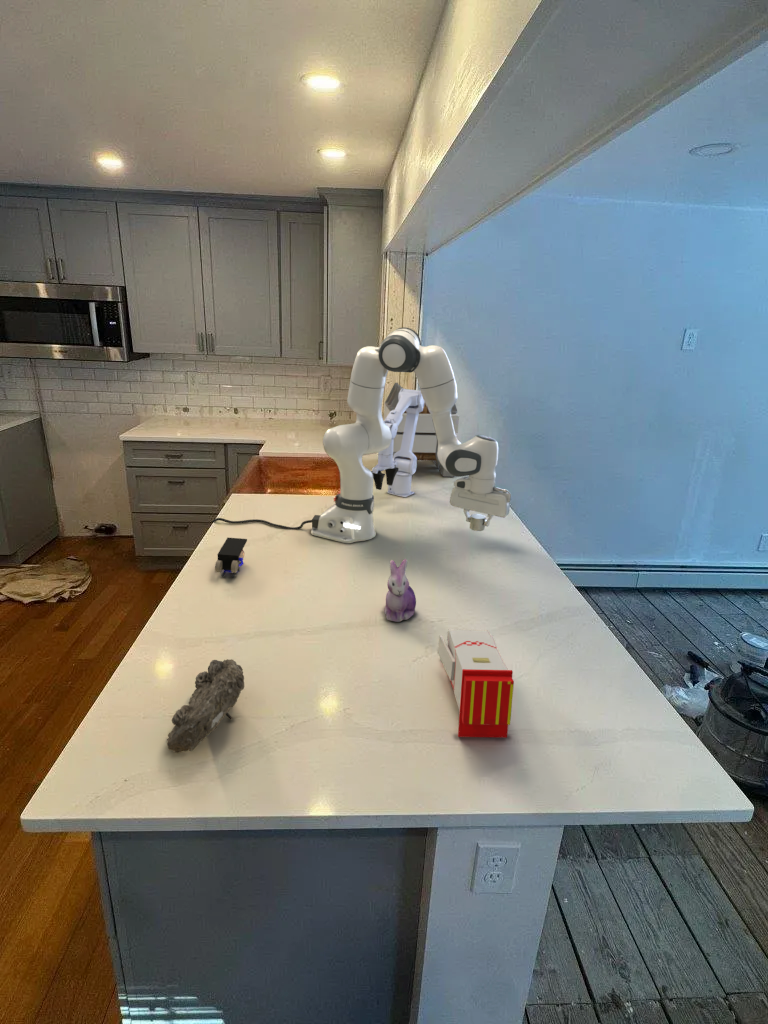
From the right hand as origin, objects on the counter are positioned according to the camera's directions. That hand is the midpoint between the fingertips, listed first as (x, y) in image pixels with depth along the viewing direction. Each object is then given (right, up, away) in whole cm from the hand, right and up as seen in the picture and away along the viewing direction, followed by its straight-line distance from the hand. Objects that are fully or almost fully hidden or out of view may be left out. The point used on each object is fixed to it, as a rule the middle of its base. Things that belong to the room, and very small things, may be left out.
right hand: (384, 487), depth 224 cm
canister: (+31, -15, -32) cm, 48 cm away
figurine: (+4, -36, -77) cm, 85 cm away
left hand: (+31, -14, -33) cm, 48 cm away
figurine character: (-45, -27, -57) cm, 77 cm away
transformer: (+16, +12, +60) cm, 63 cm away
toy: (+18, -47, -106) cm, 117 cm away
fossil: (-33, -49, -116) cm, 130 cm away
